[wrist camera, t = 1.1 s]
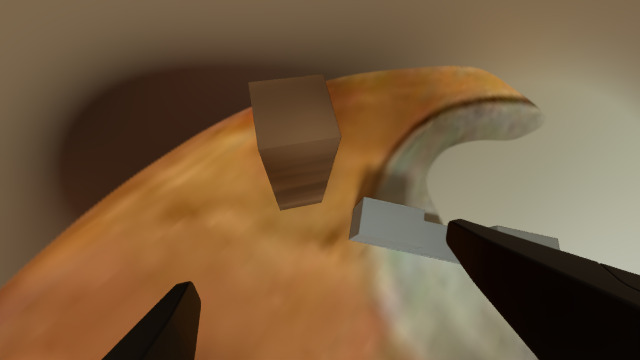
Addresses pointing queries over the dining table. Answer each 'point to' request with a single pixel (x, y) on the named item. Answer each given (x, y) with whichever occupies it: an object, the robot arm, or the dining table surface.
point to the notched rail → (413, 230)
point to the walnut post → (295, 137)
